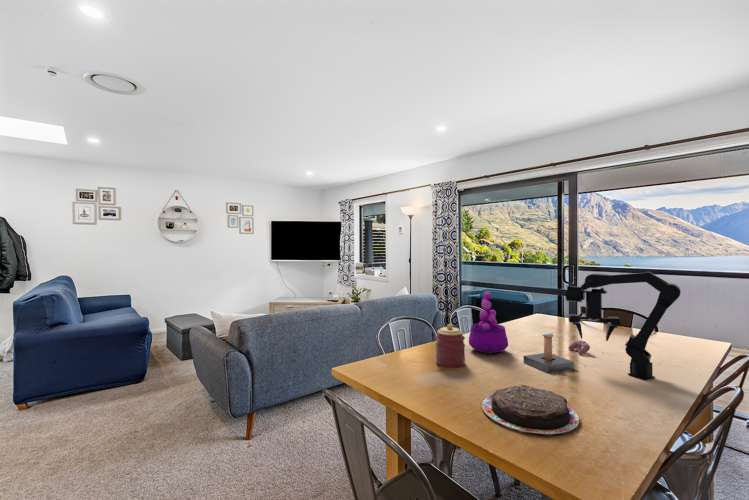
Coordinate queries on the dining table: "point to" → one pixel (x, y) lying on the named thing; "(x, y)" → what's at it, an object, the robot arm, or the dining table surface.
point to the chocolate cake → (530, 410)
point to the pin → (548, 346)
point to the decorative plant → (488, 330)
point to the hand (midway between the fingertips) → (594, 339)
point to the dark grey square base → (548, 363)
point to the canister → (450, 347)
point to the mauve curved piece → (578, 345)
